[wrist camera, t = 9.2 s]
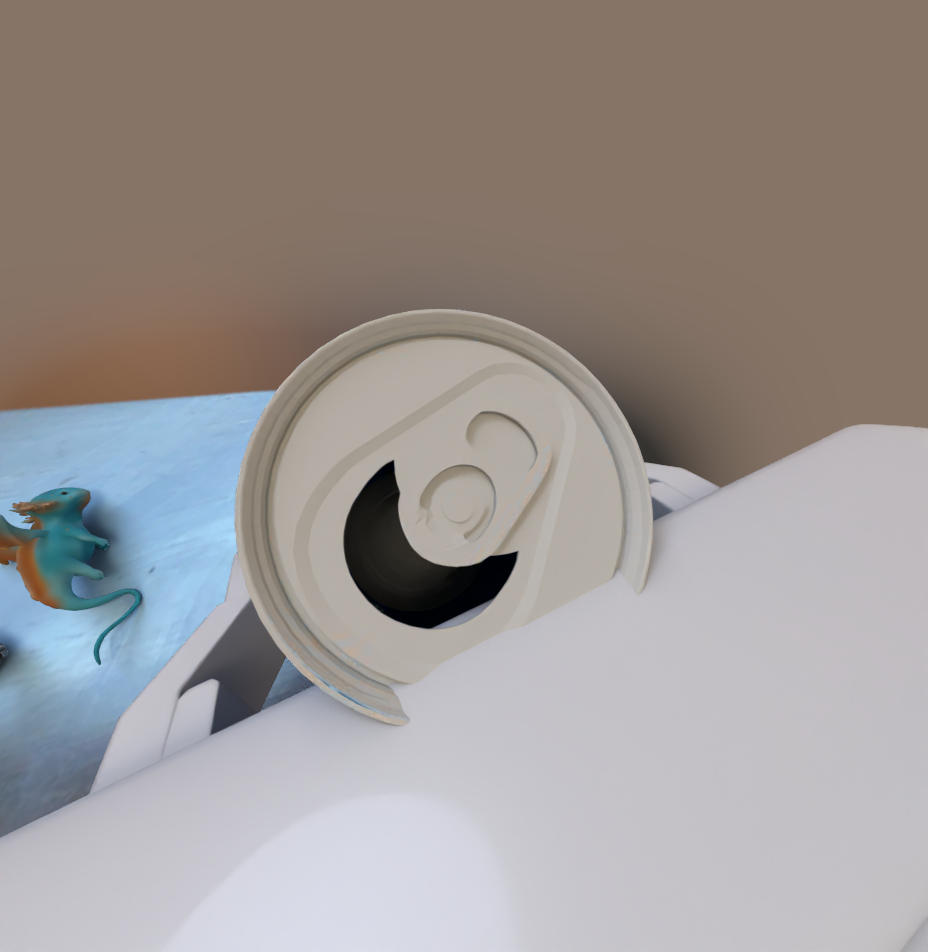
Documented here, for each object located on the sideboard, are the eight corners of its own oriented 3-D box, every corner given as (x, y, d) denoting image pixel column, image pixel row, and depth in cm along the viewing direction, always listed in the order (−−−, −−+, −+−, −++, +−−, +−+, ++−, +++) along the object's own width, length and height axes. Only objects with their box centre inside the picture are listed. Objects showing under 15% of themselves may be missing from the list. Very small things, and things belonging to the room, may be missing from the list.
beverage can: (315, 553, 15) (36, 551, 3) (404, 446, 17) (419, 212, 5) (432, 637, 15) (546, 909, 4) (506, 521, 17) (736, 452, 5)
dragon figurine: (208, 534, 20) (46, 454, 17) (94, 669, 15) (-160, 596, 12) (196, 553, 24) (66, 492, 21) (104, 661, 20) (-80, 606, 17)
